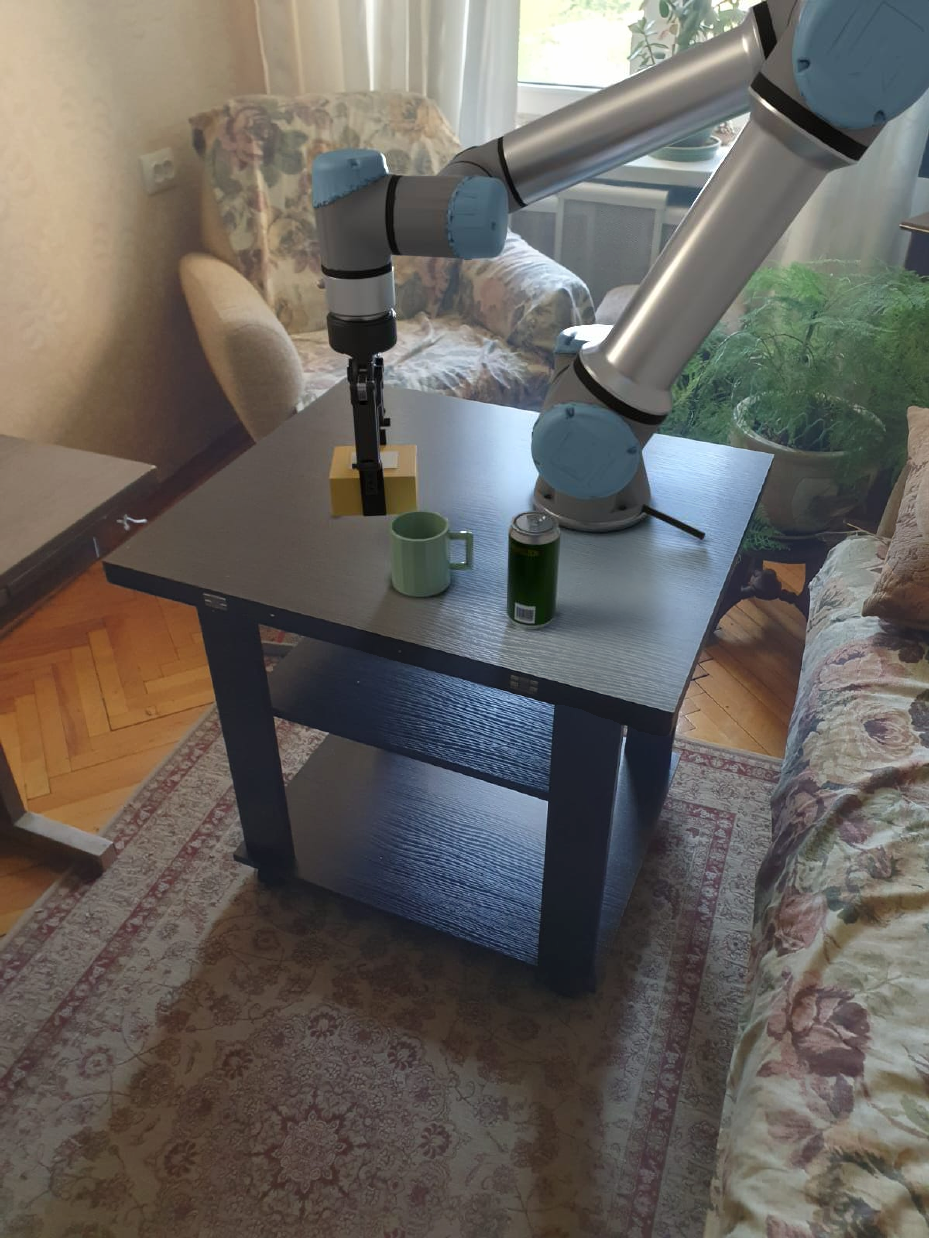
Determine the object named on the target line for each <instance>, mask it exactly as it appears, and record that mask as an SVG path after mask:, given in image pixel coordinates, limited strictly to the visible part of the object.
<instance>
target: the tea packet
mask: <svg viewBox="0 0 929 1238" xmlns="http://www.w3.org/2000/svg"><path fill="white" fill-rule="evenodd" d="M417 451H418V449H417V443H413V444H412V443H410V444H387V445H380V460H381V461H382V463H383V476H384V488H385V501H386V516H388V515H391V516H392V515H399V514H401V513H404V512H408V511H413V510H418V505H419V504H418V502H419V501H418V500H419V470H418V468H419V467H418V452H417ZM353 463H357V459H356V445H339V446H338V445H337V446H334V450H333V454H332V460H331V464H330V470H329V476H328V483H329V491H330V492H329V493H330V503H331V509H332V517H352V516H354V517H356V516H363V508H362V498H361V488H360V477H359V471H358V470H357V469H352V464H353Z"/></svg>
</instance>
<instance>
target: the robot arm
mask: <svg viewBox="0 0 929 1238" xmlns="http://www.w3.org/2000/svg"><path fill="white" fill-rule="evenodd" d="M928 89H929V0H762V1H761V2H759V3H756V4H754V5H752V6H750V7H748V9H747V10H746V12H745V15H744V17H743V18H742V21H740V24H738V25H737V26H734V27H733V28H730V29H728V30H726V31H724V32H722V33H719V34H717V35H715V36H712V37H711V38H709V39H707V40H705V41H702V42H700V43H698V44H696V45H694V46H691V47H690V48H687V49H685V50H683V51H681V52H679V53H677V54H674V55H672V56H669V57H667V58H666V59H664V60H661V61H659V62H657V63H655V64H653V65H651V66H649V67H646V68H644V69H642V70H639V71H638V72H635V73H633V74H631V75H629V76H627V77H625V78H623V79H621V80H618V81H616V82H614V83H612V84H610V85H607V86H606V87H602V88H601V89H599V90H597V91H595V92H592V93H590V94H588V95H586V96H584V97H582V98H579V99H578V100H575V101H573V102H571V103H569V104H567V105H564V106H562V107H560V108H558V109H556V110H554V111H552V112H549V113H547V114H545V115H543V116H540V117H539V118H537V119H534V120H532V121H529V122H528V123H526V124H523V125H521V126H520V127H517V128H515V129H513V130H511V131H509V132H506V133H504V135H502V136H499V137H497V138H493V139H491V140H489V141H487V142H485V143H483V144H480V145H473V146H470V147H468V148H466V149H464V150H462V151H460V152H458V153H457V154H455V155H454V157H453V158H452V159H451V160H449V162H448V163H447V164H446V165H445V166H444V167H442V169H441V170H440V171H439V172H437V173H436V174H435V175H403V174H396V173H389V168H388V166H387V161H386V157H385V155H384V154H383V153H382V152H380V151H378V150H375V149H366V148H342V149H334V150H329V151H325V152H323V153H321V154H319V155H317V156H316V157H315V159H314V160H313V162H312V164H311V179H312V180H311V181H312V197H313V198H312V200H313V202H312V208H313V211H314V218H315V219H314V220H315V227H316V236H317V243H318V251H319V258H320V259H319V260H320V271H321V275H322V278H321V279H318V280H317V282H316V286H317V288H318V289H321V290H324V293H323V294H324V303H325V304H324V305H325V309H326V310H327V311H328V313H327V314H326V317H325V318H326V328H327V335H328V336H327V337H328V344H329V347H330V348H331V350H333V352H336V353H338V354H341V355H346V356H348V357H349V358H348V359H347V360H348V366H346V379H347V382H348V383H349V385H348V387H349V395H350V398H349V399H350V405H351V406H352V417H353V431H354V444H355V445H354V446H356V459H357V463H353V464H352V469H357V470H358V471H359V477H360V488H361V498H362V508H363V515H362V516H363V517H386V516H387V515H386V501H385V488H384V476H383V463H382V461H381V460H380V445H388V442H387V441H388V439H387V429H386V428H390V427H391V423H392V421H391V417H385V416H386V414H387V413H386V408H385V401H384V390H383V389H384V388H385V387H384V386H385V385H384V384H385V383H384V382H385V379H384V374H385V360H384V359H385V358H384V357H383V356H382V357H381V355H380V354H383V353H386V352H388V351H390V350H391V349H394V347H395V346H396V344H397V342H398V329H397V328H398V327H397V317H396V315H397V314H396V311H395V310H394V307H395V305H396V291H395V275H394V274H395V272H394V266H393V256H398V257H399V256H402V257H403V256H405V257H422V258H440V259H441V258H442V259H443V258H444V259H459V260H460V259H461V260H464V261H472V260H477V259H494V258H496V257H498V256H500V255H501V253H502V252H503V251H504V248H505V245H506V240H507V237H508V236H507V235H508V230H509V229H508V228H509V215H510V214H513V213H516V212H517V211H519V210H522V209H524V208H526V207H529V206H530V205H532V204H534V203H537V202H539V201H541V200H544V199H547V198H548V197H551V196H553V195H556V194H558V193H560V192H562V191H564V190H568V189H570V188H573V187H574V186H577V185H579V184H582V183H584V182H586V181H589V180H591V179H594V178H596V177H599V176H601V175H603V174H606V173H608V172H611V171H613V170H616V169H618V168H620V167H622V166H625V165H627V164H629V163H632V162H634V161H636V160H639V159H641V158H644V157H646V156H648V155H651V154H654V153H655V152H658V151H660V150H663V149H665V148H667V147H670V146H672V145H674V144H677V143H679V142H682V141H684V140H686V139H689V138H691V137H694V136H696V135H698V134H701V133H703V132H705V131H708V130H711V129H712V128H715V127H717V126H721V125H723V124H724V123H727V122H729V121H732V120H734V119H737V118H739V117H742V116H743V115H746V114H749V116H748V117H749V118H748V119H747V121H746V122H745V124H744V126H743V127H742V128H741V130H740V132H739V133H738V135H737V136H736V137H735V139H734V140H733V142H732V143H731V146H729V148H728V150H727V151H726V153H725V154H724V156H723V158H722V159H721V160H720V162H719V164H718V165H717V166H716V168H715V169H714V171H713V172H712V174H711V176H710V178H709V179H708V180H707V182H706V183H705V185H704V186H703V188H702V189H701V191H700V192H699V194H698V195H697V197H696V199H695V200H694V202H693V203H692V205H691V206H690V207H689V209H688V211H687V212H686V213H685V215H684V216H683V219H682V220H681V221H680V223H679V224H678V226H677V228H676V229H675V231H674V232H673V233H672V235H671V236H670V238H669V239H668V241H667V242H666V244H665V245H664V248H663V249H662V251H661V252H660V253H659V255H658V256H657V258H656V259H655V261H654V263H653V264H652V265H651V267H650V269H649V271H648V272H647V273H646V274H645V277H644V278H643V279H642V281H641V283H640V284H639V285H638V287H637V289H636V290H635V292H634V293H633V295H632V296H631V298H630V299H629V301H628V302H627V304H626V305H625V307H624V308H623V310H622V311H621V313H620V314H619V316H618V317H617V319H616V320H615V322H614V324H613V325H605V324H590V325H588V324H587V325H578V326H571V327H568V328H565V329H563V330H562V331H560V332H559V333H558V335H557V336H556V341H555V347H554V349H553V355H554V366H553V367H554V368H553V376H552V379H551V383H550V386H549V389H548V391H547V394H546V395H545V399H544V401H543V404H542V406H541V409H540V412H539V415H538V417H537V418H536V420H535V422H534V424H533V426H532V431H531V443H530V452H531V458H532V461H533V464H534V466H535V469H536V471H537V473H538V476H537V478H536V481H535V484H534V487H533V488H534V489H533V505H534V508H535V509H536V510H535V511H542V512H546V513H549V514H551V515H553V516H554V517H556V518H557V520H558V523H559V527H563V528H566V529H570V530H574V531H575V530H576V531H580V532H581V531H582V532H589V533H591V532H592V533H605V532H614V531H619V530H624V529H626V528H630V527H632V526H634V525H636V524H638V523H641V521H643V520H644V519H645V518H646V517H647V515H649V516H651V517H654V518H655V519H657V520H660V521H662V522H664V523H666V524H668V525H670V526H673V527H675V528H676V529H679V530H681V531H682V532H685V533H686V534H688V535H691V536H692V537H695V538H696V539H699V540H701V541H703V540H704V538H705V537H706V533H705V532H703V530H699V529H698V528H696V527H694V526H691V525H689V524H687V523H685V522H683V521H681V520H680V519H678V518H674V517H672V516H670V515H668V514H666V513H664V512H662V511H660V510H658V509H655V508H653V507H651V502H652V500H651V499H652V491H651V486H650V481H649V477H648V473H647V469H646V464H645V461H644V455H643V450H644V448H645V447H646V446H647V444H648V443H649V441H650V440H651V439H652V438H653V436H654V435H655V434H656V432H657V431H658V429H660V427H661V425H662V424H663V423H664V422H665V420H666V419H667V417H668V416H669V414H670V413H671V412H672V410H673V409H674V405H675V402H674V395H673V392H672V388H673V387H672V386H673V385H674V383H675V382H676V381H677V380H678V378H679V377H680V375H681V374H682V373H683V372H684V370H685V369H686V367H687V366H688V364H689V363H690V362H691V361H692V359H693V358H694V357H695V355H696V354H697V352H698V351H699V349H700V348H701V347H702V346H703V344H704V343H705V341H706V340H707V339H708V337H709V336H710V334H711V333H712V332H713V331H714V330H715V328H716V326H718V324H719V323H720V321H721V320H722V319H723V317H724V316H725V314H726V313H727V311H728V310H729V309H730V308H731V306H732V304H734V302H735V301H736V299H737V298H738V296H739V295H740V294H741V293H742V291H743V289H745V287H746V286H747V284H748V283H749V281H751V279H752V277H753V276H754V275H755V273H756V272H757V270H758V269H759V268H760V266H761V265H762V264H763V263H764V261H765V260H766V258H767V257H768V256H769V255H770V253H771V252H772V250H773V249H774V248H775V246H776V245H777V244H778V242H779V241H780V239H781V238H782V237H783V235H784V234H785V232H787V230H788V229H789V227H790V226H791V225H792V223H793V222H794V221H795V219H796V218H797V216H798V215H799V213H801V211H802V209H803V208H804V207H805V206H806V204H807V203H808V201H809V200H810V199H811V197H812V196H813V194H815V192H816V190H817V189H818V188H819V187H820V185H821V184H822V182H823V181H824V179H825V178H826V177H827V176H828V174H830V173H832V172H833V171H835V170H839V169H844V168H848V167H851V166H854V165H855V166H856V165H857V164H858V162H859V161H860V160H861V159H862V157H863V156H864V155H865V153H866V152H867V150H869V147H871V146H872V144H873V143H874V141H875V140H876V139H877V138H878V136H879V135H880V133H881V132H882V131H883V129H885V127H886V126H887V124H888V123H889V122H890V121H893V120H895V119H896V118H898V117H900V116H901V115H902V114H903V113H904V112H906V111H907V110H908V109H910V108H912V106H913V105H914V104H916V103H917V102H918V101H919V100H920V99H921V98H922V96H924V94H925V93H926V92H927V91H928ZM350 357H351V358H350Z"/></svg>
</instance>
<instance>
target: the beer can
mask: <svg viewBox="0 0 929 1238" xmlns="http://www.w3.org/2000/svg"><path fill="white" fill-rule="evenodd" d="M560 545H561V528H560V525H559V523H558V520H557V518H556V517H554V516H553V515H551V514H549V513H546V512H542V511H537V510H527V511H522V512H519V513H517V514H515V515H514V516H512V518H511V520H510V526H509V528H508V540H507V577H506V579H507V581H506V615H507V617H508V618H509V620H510V622H511V623H512V624H513V625H514V626H516V627H517V628H520V629H524V630H539V629H543V628H545V627H547V626H549V625H550V624H551V622H552V621H553V619H554V617H555V615H556V612H557V611H556V610H557V593H558V580H559V579H558V578H559V561H560V547H561V546H560Z"/></svg>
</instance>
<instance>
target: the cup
mask: <svg viewBox="0 0 929 1238" xmlns="http://www.w3.org/2000/svg"><path fill="white" fill-rule="evenodd" d="M450 527H451V526H450V521H449V519H448V518H447V516H445V515H443V514H442V513H439V512H437V511H432V510H427V509H417V510H413V511H408V512H404V513H401V514H396V515H395V516H394V517H393V518H391V520H390V521H389V522H388V541H389V557H390V570H391V571H390V572H391V582H392V586H393V588H394V589H395V590H396V591H397V592H399V594H403V595H405V596H408V597H414V598H427V597H432V596H436V595H438V594H441V593H443V592H444V591H445V590H446V589H448V587H449V586H450V584H451V581H452V580H451V575H452V574H451V571H471V570H473V568H474V533H473V532H472V531H451V528H450ZM462 540H463V541H464V544H465V545H464V546H465V547H464V550H465V553H464V556H465V559H464V560H465V561H464V562H451V541H462Z"/></svg>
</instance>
